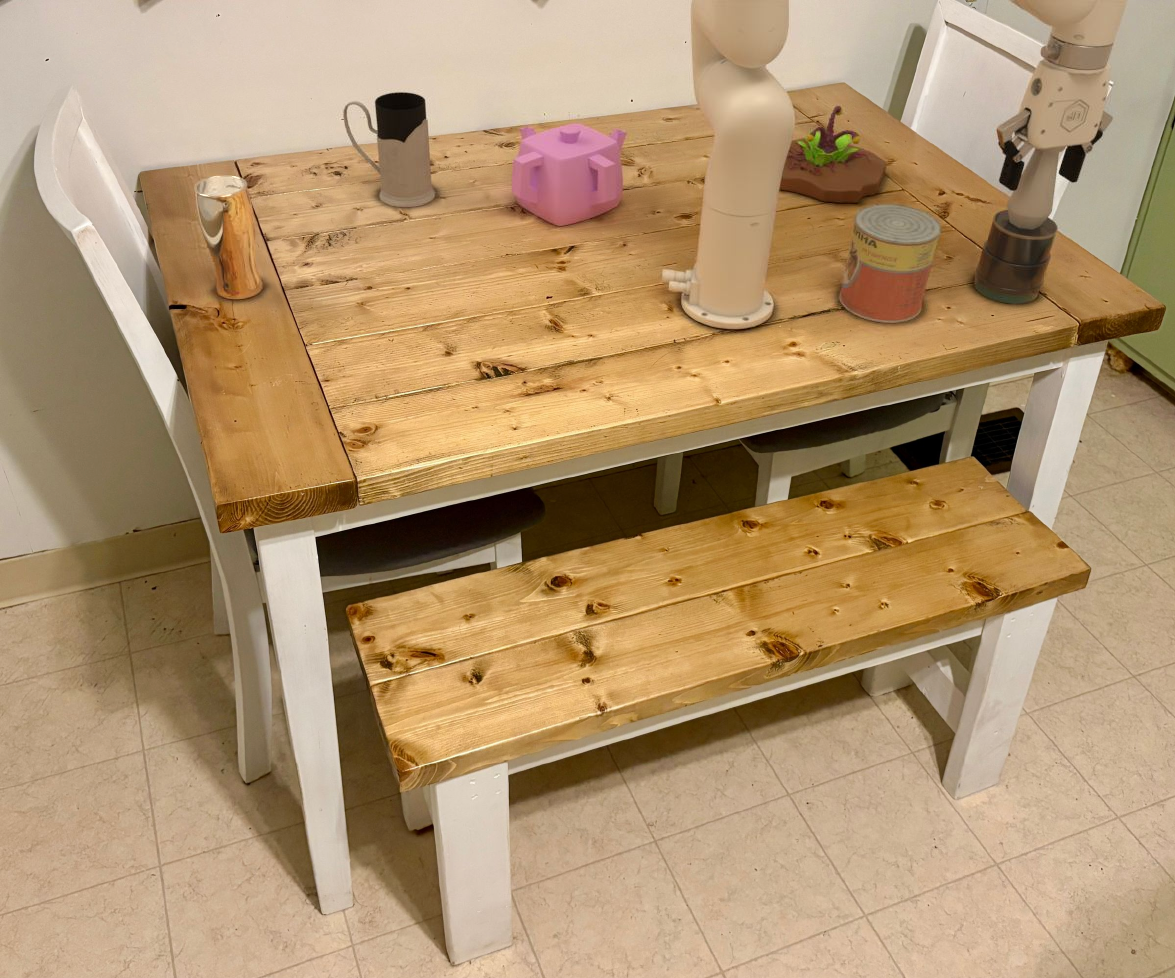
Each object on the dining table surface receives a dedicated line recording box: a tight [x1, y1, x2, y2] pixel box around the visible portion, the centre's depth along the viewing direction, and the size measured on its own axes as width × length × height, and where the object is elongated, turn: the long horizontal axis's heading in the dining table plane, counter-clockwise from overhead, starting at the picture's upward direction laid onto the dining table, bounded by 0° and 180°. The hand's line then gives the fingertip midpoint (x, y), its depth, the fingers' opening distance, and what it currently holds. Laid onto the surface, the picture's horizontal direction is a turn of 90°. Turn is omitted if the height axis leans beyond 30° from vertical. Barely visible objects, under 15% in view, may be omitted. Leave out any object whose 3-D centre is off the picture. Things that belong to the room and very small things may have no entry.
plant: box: [779, 105, 887, 204], centre depth 185 cm, size 20×20×11 cm
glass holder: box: [342, 91, 436, 208], centre depth 174 cm, size 9×14×15 cm, turn 71°
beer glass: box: [193, 174, 264, 301], centre depth 149 cm, size 7×7×15 cm
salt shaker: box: [1006, 147, 1066, 230], centre depth 150 cm, size 6×6×13 cm
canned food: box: [838, 203, 942, 324], centre depth 153 cm, size 11×11×12 cm
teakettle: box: [510, 122, 628, 227], centre depth 173 cm, size 17×17×12 cm
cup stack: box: [973, 209, 1058, 305], centre depth 158 cm, size 9×9×10 cm
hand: (1037, 182), depth 151 cm, fingers open, 9 cm apart
